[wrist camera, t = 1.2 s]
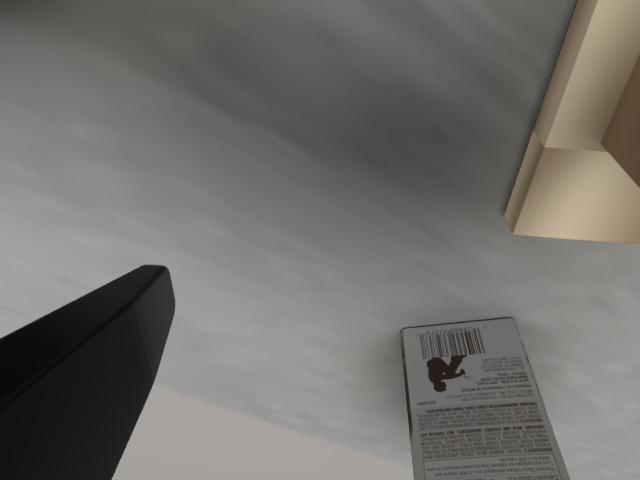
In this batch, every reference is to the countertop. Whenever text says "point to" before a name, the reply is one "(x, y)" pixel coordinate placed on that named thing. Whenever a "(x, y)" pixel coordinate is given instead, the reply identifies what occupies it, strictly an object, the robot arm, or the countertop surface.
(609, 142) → the walnut block
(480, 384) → the coffee box
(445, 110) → the countertop surface
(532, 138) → the trap lane
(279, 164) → the countertop surface
